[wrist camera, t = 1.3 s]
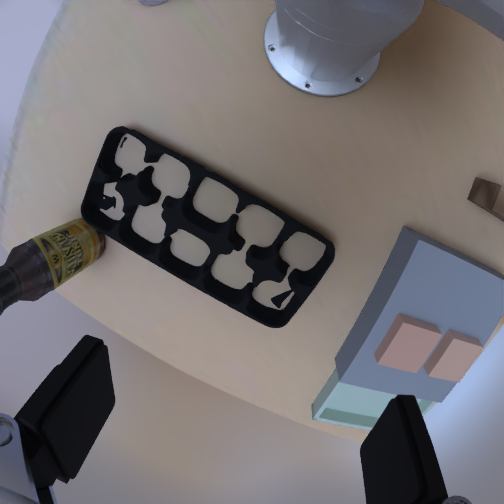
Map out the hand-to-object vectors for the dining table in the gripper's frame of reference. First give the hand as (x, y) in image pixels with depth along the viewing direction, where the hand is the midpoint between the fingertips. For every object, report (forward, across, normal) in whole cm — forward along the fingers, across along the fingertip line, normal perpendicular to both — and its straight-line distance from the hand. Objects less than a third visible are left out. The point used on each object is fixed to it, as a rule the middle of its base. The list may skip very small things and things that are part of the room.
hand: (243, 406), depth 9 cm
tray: (+28, -21, +26) cm, 44 cm away
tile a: (+23, -18, +12) cm, 32 cm away
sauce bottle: (+29, +24, +8) cm, 38 cm away
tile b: (+23, -26, +13) cm, 37 cm away
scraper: (+29, -30, -6) cm, 42 cm away
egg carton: (+29, +8, +4) cm, 30 cm away
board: (+28, -22, +11) cm, 38 cm away
